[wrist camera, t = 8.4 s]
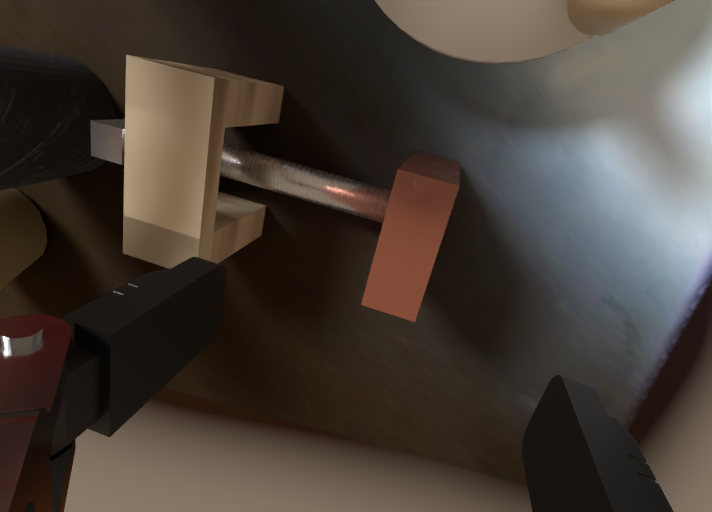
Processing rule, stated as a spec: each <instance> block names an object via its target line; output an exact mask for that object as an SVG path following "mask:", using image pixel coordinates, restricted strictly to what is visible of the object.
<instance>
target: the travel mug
mask: <svg viewBox="0 0 712 512" xmlns="http://www.w3.org/2000/svg"><path fill="white" fill-rule="evenodd" d="M110 119H117V117H116V112H115V108H114V105H113V102H112V100H111V98H110V96H109V93H108V92H107V90H106V88H105V87H104V85H103V84H102V82H101V81H100V80H99V78H98V77H97V76H96V75H95V74H94V73H93V72H92V71H91V70H90V69H88V68H87V67H86V66H84V65H83V64H81V63H79V62H78V61H76V60H73V59H71V58H68V57H64V56H60V55H55V54H50V53H45V52H39V51H34V50H28V49H22V48H16V47H10V46H4V45H0V191H1V190H6V189H11V188H16V187H20V186H25V185H30V184H34V183H39V182H44V181H48V180H53V179H58V178H62V177H67V176H72V175H76V174H80V173H85V172H89V171H92V170H94V169H97V168H98V167H100V166H102V165H103V164H104V163H105V162H106V161H107V160H104V159H100V158H97V157H94V156H91V120H110Z"/></svg>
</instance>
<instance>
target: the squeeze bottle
mask: <svg viewBox="0 0 712 512" xmlns="http://www.w3.org/2000/svg"><path fill="white" fill-rule="evenodd" d="M46 245H47V232H46V226H45V224H44V221H43V219H42V216H41V214H40V212H39V211H38V209H37V208H36V207H35V206H34V204H33V203H32V202H31V200H30V199H29V198H28V197H26V196H25V195H24V194H22V193H21V192H19V191H18V190H17V189H14V188H11V189H6V190H1V191H0V290H1V289H2V288H3V287H4V286H6V285H7V284H8V283H9V282H10V281H12V280H13V279H14V278H15V277H16V276H18V275H19V274H20V273H21V272H22V271H24V270H25V269H26V268H27V267H29V266H30V265H31V264H32V263H33V262H35V261H36V260H37V259H38V258H39V257H41V256H42V255H43V254H44V251H45V248H46Z"/></svg>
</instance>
